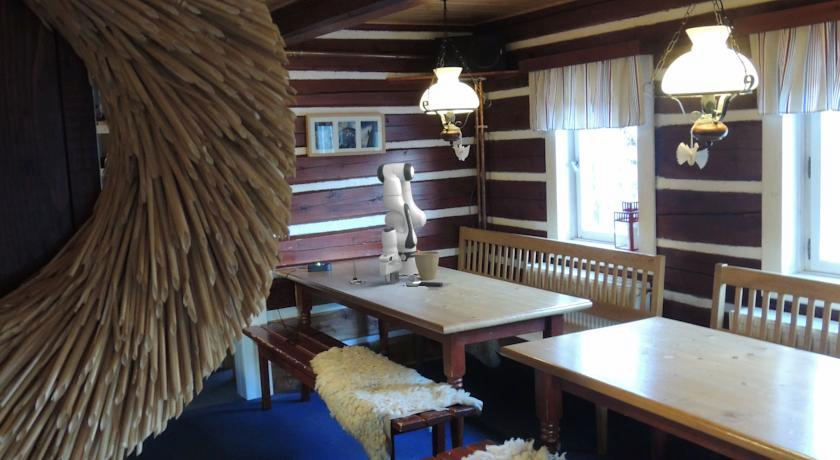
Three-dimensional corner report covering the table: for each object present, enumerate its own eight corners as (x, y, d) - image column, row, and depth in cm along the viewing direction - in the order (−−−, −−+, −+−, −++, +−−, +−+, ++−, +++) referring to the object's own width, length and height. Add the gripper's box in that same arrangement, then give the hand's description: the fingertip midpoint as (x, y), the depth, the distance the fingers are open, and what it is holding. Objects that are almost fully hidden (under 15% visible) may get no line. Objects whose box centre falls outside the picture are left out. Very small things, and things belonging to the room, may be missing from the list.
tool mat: (411, 282, 452) (410, 281, 451) (452, 284, 440) (452, 283, 440) (394, 289, 434) (394, 288, 434) (437, 291, 422) (437, 290, 422)
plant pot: (440, 281, 450) (439, 254, 448) (414, 282, 450) (413, 255, 449) (440, 276, 465) (439, 250, 463) (415, 278, 465) (414, 251, 463)
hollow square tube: (390, 283, 454) (389, 271, 453) (399, 283, 452) (398, 271, 451) (385, 285, 449) (384, 272, 448) (394, 285, 446) (393, 273, 445)
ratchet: (403, 286, 438) (402, 276, 437) (410, 283, 445) (409, 273, 445) (438, 288, 428) (437, 277, 427) (444, 285, 436) (444, 274, 435)
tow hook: (367, 283, 458) (361, 280, 467) (366, 262, 456) (360, 259, 464) (354, 285, 455) (347, 282, 463) (353, 264, 453) (346, 261, 461)
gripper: (394, 253, 459) (395, 276, 461) (377, 259, 441) (378, 283, 442) (403, 253, 456) (405, 277, 458) (386, 259, 438) (388, 283, 440)
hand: (392, 280), depth 450 cm, fingers closed on hollow square tube, 6 cm apart
